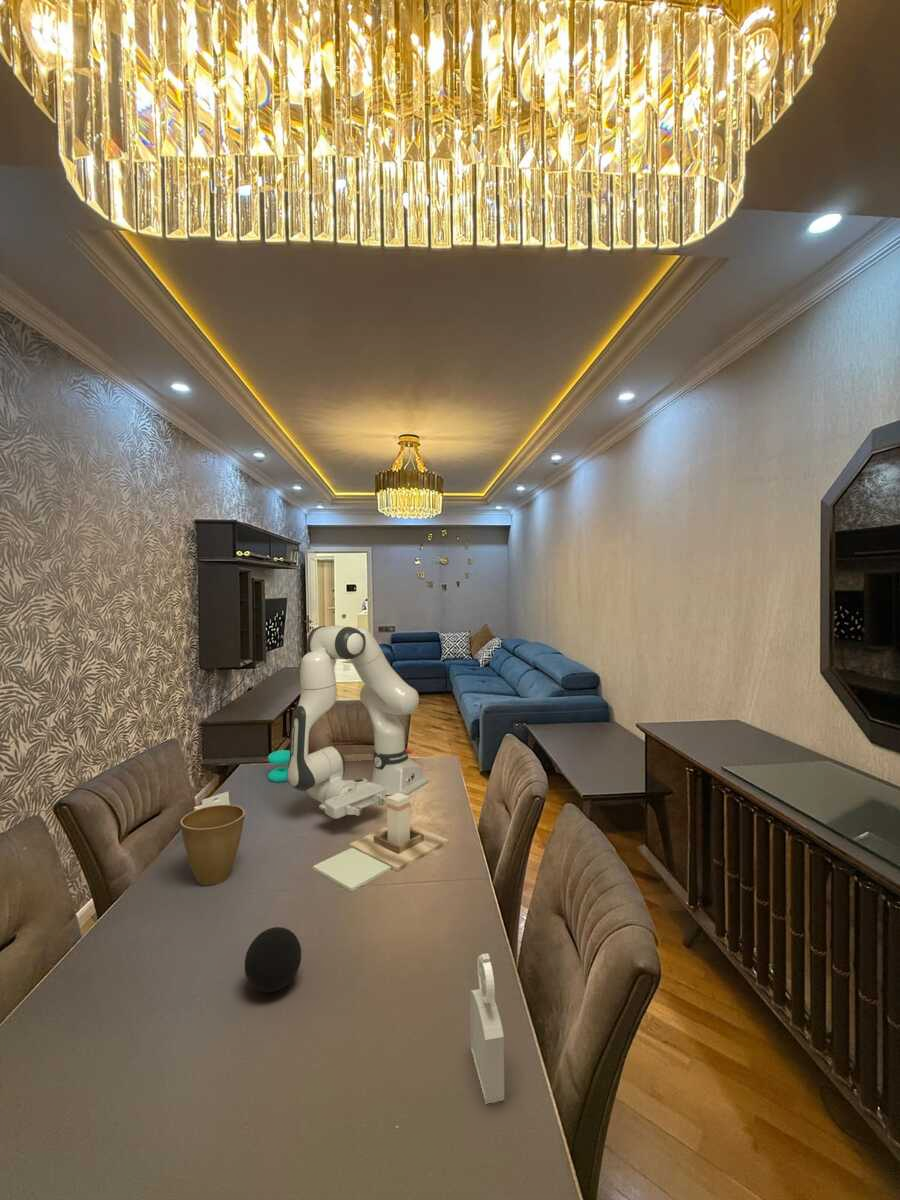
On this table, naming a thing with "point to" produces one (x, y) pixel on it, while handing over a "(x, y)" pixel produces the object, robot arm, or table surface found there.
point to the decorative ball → (273, 959)
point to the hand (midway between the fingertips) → (372, 807)
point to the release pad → (351, 869)
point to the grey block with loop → (487, 1034)
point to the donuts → (278, 759)
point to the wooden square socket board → (399, 847)
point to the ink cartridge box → (215, 801)
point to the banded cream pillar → (398, 818)
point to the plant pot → (212, 841)
